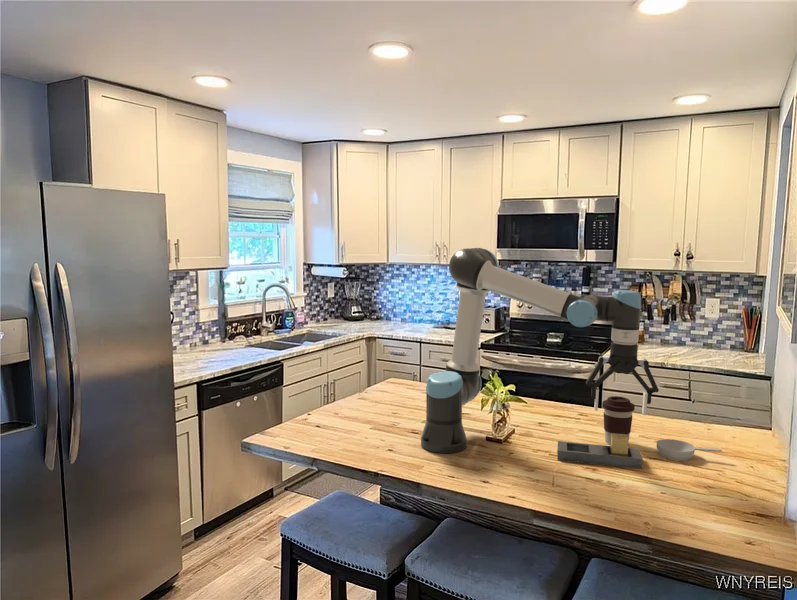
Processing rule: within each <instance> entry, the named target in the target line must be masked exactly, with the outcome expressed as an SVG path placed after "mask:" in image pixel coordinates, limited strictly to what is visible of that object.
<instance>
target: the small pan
mask: <svg viewBox="0 0 797 600" xmlns="http://www.w3.org/2000/svg"><path fill="white" fill-rule="evenodd" d="M656 450H657V451H658V453H659V455H660V454H661V455H662V456H661V455H660V456H661V457H662V458H665V457H666V458H665V459H667V458H668V459H667V460H671V459H672V460H671V461H676V460H678V461H679V462H685V460H687V461H690V460H691V459H692V457H693V456H694V455H695V451H706V452H707V451H708V452H719V453H721V452H722V451H723V450H722V449H720V448H709V447H695V446H694V444H691V443H689V442H686V441H683V440H678V439H671V438H663V439H659V440H657V441H656ZM678 461H677V462H678Z"/></svg>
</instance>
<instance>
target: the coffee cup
mask: <svg viewBox="0 0 797 600" xmlns="http://www.w3.org/2000/svg"><path fill="white" fill-rule="evenodd" d="M606 398H607V399H606V400H602V404H601V405H602V406H601V407H602V408H603V410H604V411H603V429H604V441H605V443H607V444H608V445H609V446H611V433H616V434H627V436H628V439H629V440H630V435H631V430H632V423H633V412H634V411H635V407H636V406H635V404H634V403H632V402H631V400H630V398H627V397H624V396H618V395H617V396H616V395H615V396H613V395H612V396H609V397H606ZM629 440H628V444H629V442H630V441H629Z"/></svg>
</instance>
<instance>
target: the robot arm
mask: <svg viewBox="0 0 797 600" xmlns="http://www.w3.org/2000/svg"><path fill="white" fill-rule="evenodd" d="M448 263H449V264H448V270H449V274H450V275H451V278H452V279H453V280H454V281H456V288H457V289H458V290H459V299H458V307H457V314H456V315H457V316H456V320H455V321H456V323H455V329H454V337H453V346H452V353H451V359H449V360H448V361H447V362H446V366H445V370H444V371H439V372H438V371H437V372H434V373H432V374H430V375H429V376H428V377H427V379H426V386H425V392H426V394H425V395H426V399H425V400H426V403H425V404H426V409H425V410H426V411H425V412H426V414H425V415H426V420H425V425H424V428H423V430H422V434H421V436H420V446H421V447H422V448H423V449H424V450H426V451H429V452H433V453H437V454H453V453H454V454H455V453H459V452H461V451H462V452H463V451H464V450H465V449H466V448H467V447H468V437H467V434H466V431H465V429H464V426H463V406H465V405H466V404H468V403H469V402H471V401H473V400H474V399H475V398H476V397H477V396H478V395H479V393H480V392H481V389H482V386H483V385H482V378H481V375H480V370H481V367H480V366H479V364H478V363H477V361H478V360H477V358H478V351H479V345H480V344H479V343H480V338H481V331H482V324H483V315H484V309H485V302H486V295H487V294H488V293H490V292H492V293H495V294H498V295H500V296H503V297H506V298H509V299H511V300H514V301H516V302H519V303H521V304H524V305H527V306H529V307H532V308H535V309H537V310H540V311H543V312H545V313H549V314H551V315H553V316H556V317H559V318H561V319H564V320H565V321H569V323H570V324H571V325H572V326H574V327H577V328H585V327H588V326H591V325H592V324H594V323H595V322H596V321H598V322H611V334H610V335H611V336H610V339H611V343H610V351H609V357H604V356H603V355H600V356H598V360H597V364H596V365H595V367H594V368H593V369H592V371H591V373H590V375H589V376H588V378H587V380H585V385H586V387H589V388H591V392H590V393H591V394H590V395H591V396H590V397H591V399H593V400H594V411H598V409H599V394H600V393H599V392H600V389H599V386H600V385H601V384H602V383H603V382H604V381H606V380H607V379H608V378H609V377H610V376H611V375H613V374H614V373H616V374H623V375H629V374H632V375H633V376H634V377H635V379H636V380H637V381H638V383H639V384H640V385H641V386H642V387H643V388H644V390H645V391H643V394H642V406H641V407H642V410H641V413H642V415H643V416H647V408H648V405H651V403H652V396H653V395H652V394H654V393H658V392H659V389H660V388H659V387H658V385H657V383H656V381H655V379H654V377H653V375H652V372H651V371H650V370H651V369H650V368H649V367H650V364H649V361H648V360H647V359H646V358H644V359H641V360H639V359H638V351H639V350H638V349H639V348H638V347H639V345H638V342H639V334H640V333H639V332H640V323H641V310H642V309H641V308H642V306H641V305H642V303H641V302H642V294H641V293H640V292H638V291H635V290H627V289H626V290H623V289H619V290H618V289H617V290H615V291H614V292H613V295H612V296H603V295H593V294H592V295H590V294H573V293H570V292H568V291H565V290H561V289H559V288H556V287H554V286H551V285H548V284H545V283H542V282H541V281H540V282H539V281H537V280H533V279H531V278H529V277H526V276H523V275H520V274H518V273H515V272H512V271H509V270H506V269H505V268H501V267H499V264H498V263H499V262H498V259H497V257H496V255H494V253H493V252H491V251H490V250H488V249H486V248H481V247H474V248H473V247H472V248H469V247H468V248H462V249H459V250H458V251H456V252H455V253H454V254H453V255H452V256H451V257H450V260H449V262H448ZM607 363H608V364H609V365H610V366H609V367H608V368H607V369H606V370H605V371H604V372H603V373H602V374H601V375H600V376H599V377H598V378H597V379H596V377H597V375H598V374H599V372H600V370H601V369H602V367H603V366H604V365H605V364H607ZM638 366H640V367H641V368H643V370H644V372H645V374H646V376H647V379H648V381H649V383H650V385H651V387H650V386H649V385H648V384H647V382H646V381H645V380H644V379H643V377H642V376H641V375H640V374H639V373H638V372H637V370H636V368H637V367H638ZM595 379H596V380H595ZM594 380H595V381H594Z"/></svg>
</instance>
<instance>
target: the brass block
mask: <svg viewBox="0 0 797 600" xmlns="http://www.w3.org/2000/svg"><path fill="white" fill-rule="evenodd" d="M628 440H630V438H629V439H628V436H627V434H616V433H611V445H610V446H611V450H610V455H618V456H628V448H629V443H628Z"/></svg>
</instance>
